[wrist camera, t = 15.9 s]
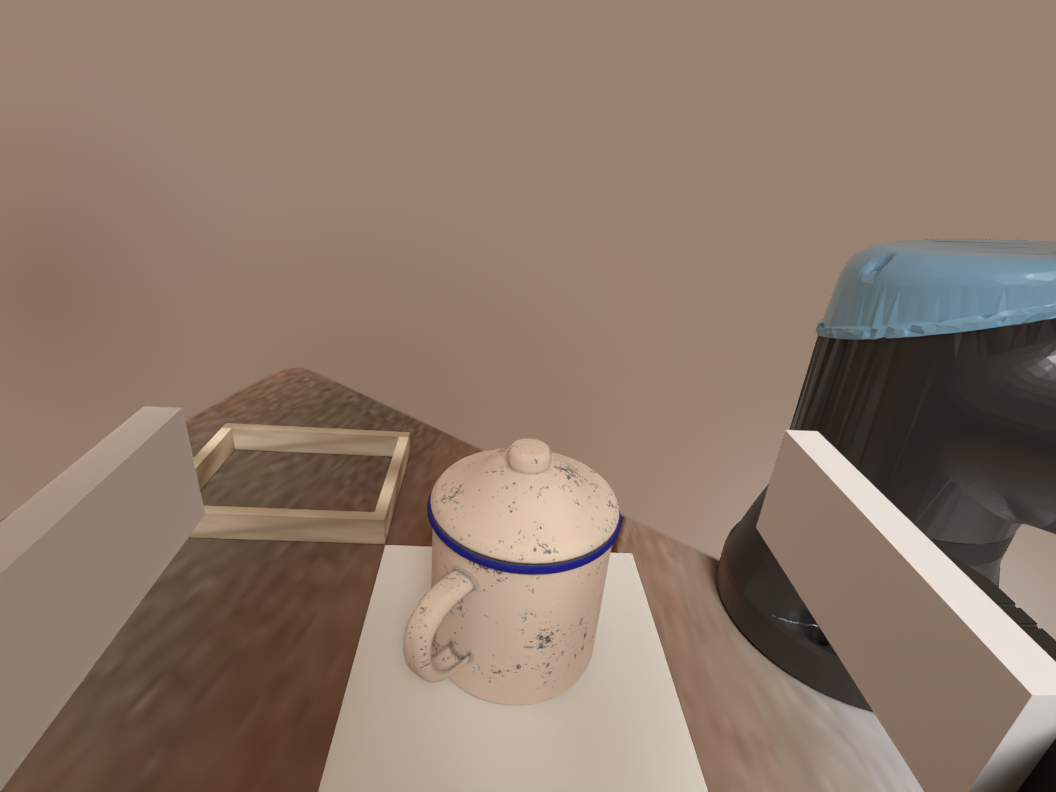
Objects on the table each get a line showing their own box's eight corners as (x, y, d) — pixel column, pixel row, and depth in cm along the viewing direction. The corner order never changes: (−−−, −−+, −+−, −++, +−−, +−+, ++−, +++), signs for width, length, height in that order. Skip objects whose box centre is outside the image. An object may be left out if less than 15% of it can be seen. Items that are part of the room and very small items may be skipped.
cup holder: (385, 544, 39) (384, 520, 38) (149, 535, 37) (144, 510, 37) (410, 452, 50) (410, 432, 49) (229, 444, 49) (226, 423, 48)
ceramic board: (708, 839, 24) (716, 818, 23) (313, 842, 22) (310, 819, 22) (628, 571, 38) (632, 553, 38) (385, 563, 37) (385, 545, 36)
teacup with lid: (497, 556, 36) (510, 388, 32) (626, 628, 32) (664, 444, 27) (341, 684, 27) (326, 474, 22) (491, 810, 23) (512, 582, 18)
